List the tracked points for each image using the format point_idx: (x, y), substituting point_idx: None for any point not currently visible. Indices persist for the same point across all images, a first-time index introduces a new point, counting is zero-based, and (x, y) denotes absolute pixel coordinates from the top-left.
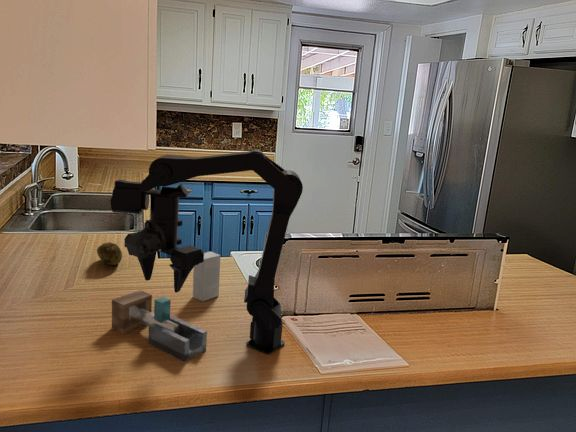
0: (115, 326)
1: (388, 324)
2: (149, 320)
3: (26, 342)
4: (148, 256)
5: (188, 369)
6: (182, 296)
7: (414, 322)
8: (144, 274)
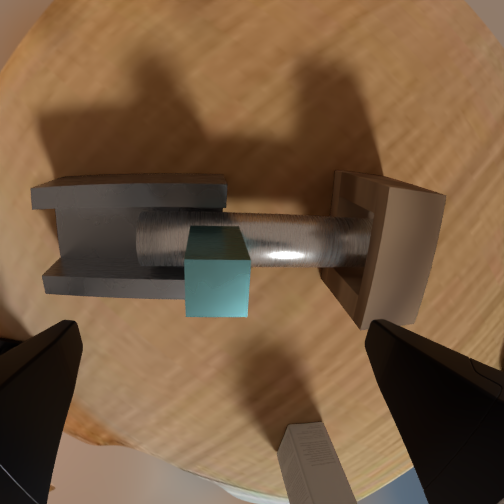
0: (374, 175)
1: None
2: (262, 220)
3: (454, 20)
4: (466, 459)
5: (32, 159)
6: (345, 409)
7: None
8: (407, 335)
